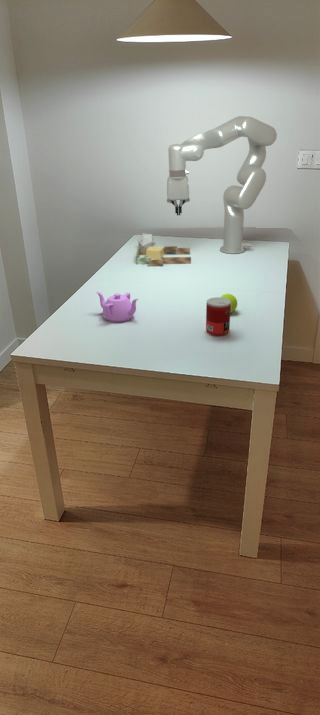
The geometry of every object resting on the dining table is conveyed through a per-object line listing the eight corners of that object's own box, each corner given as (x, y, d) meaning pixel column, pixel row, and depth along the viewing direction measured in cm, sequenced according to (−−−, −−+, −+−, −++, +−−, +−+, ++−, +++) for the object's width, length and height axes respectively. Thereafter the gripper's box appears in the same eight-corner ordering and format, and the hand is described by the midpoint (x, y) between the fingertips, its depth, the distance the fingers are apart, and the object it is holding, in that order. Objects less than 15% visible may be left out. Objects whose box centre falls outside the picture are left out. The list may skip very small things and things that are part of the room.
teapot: (139, 321, 183) (138, 298, 179) (100, 325, 181) (98, 301, 177) (134, 309, 194) (133, 287, 190) (97, 312, 192) (95, 290, 187)
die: (138, 248, 271) (132, 236, 263) (150, 238, 272) (146, 226, 264) (146, 256, 267) (141, 245, 259) (159, 247, 268) (155, 235, 260)
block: (163, 256, 256) (163, 247, 254) (160, 260, 250) (160, 250, 248) (150, 255, 258) (149, 246, 256) (146, 259, 252) (146, 250, 250)
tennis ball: (232, 317, 185) (233, 299, 182) (214, 314, 188) (215, 296, 185) (239, 310, 191) (240, 292, 187) (222, 307, 194) (222, 290, 190)
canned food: (228, 337, 170) (230, 306, 165) (204, 335, 172) (205, 305, 167) (230, 327, 177) (231, 297, 172) (206, 326, 178) (207, 296, 173)
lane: (189, 251, 261) (189, 244, 259) (191, 265, 240) (191, 257, 239) (138, 252, 262) (138, 244, 260) (135, 266, 241) (135, 258, 239)
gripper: (193, 171, 236) (194, 212, 245) (161, 173, 236) (162, 213, 245) (194, 174, 229) (194, 216, 238) (160, 175, 230) (162, 217, 238)
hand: (178, 214), depth 241 cm, fingers closed
